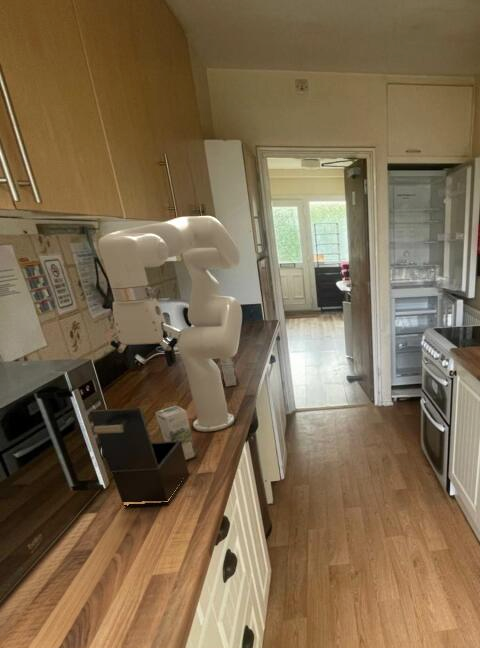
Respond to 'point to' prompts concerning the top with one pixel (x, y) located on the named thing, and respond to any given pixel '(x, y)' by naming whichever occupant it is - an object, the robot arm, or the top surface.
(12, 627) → the top surface
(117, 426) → the bin lid
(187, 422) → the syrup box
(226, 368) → the candy bar box
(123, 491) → the bin
